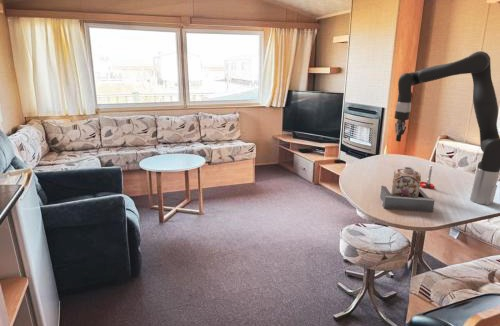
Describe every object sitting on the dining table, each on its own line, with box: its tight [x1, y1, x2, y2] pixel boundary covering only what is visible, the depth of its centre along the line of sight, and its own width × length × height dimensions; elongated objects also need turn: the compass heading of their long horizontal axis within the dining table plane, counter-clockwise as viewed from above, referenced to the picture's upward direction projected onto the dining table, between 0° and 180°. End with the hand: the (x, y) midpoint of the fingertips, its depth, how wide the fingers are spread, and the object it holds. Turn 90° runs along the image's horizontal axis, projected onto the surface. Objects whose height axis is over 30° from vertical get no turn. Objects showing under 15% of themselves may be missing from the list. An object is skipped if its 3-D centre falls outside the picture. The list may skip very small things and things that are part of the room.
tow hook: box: [420, 165, 435, 189], centre depth 190 cm, size 8×13×9 cm
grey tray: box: [379, 185, 436, 213], centre depth 164 cm, size 15×22×7 cm
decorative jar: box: [390, 166, 422, 197], centre depth 165 cm, size 12×12×18 cm
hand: (398, 141), depth 188 cm, fingers closed
